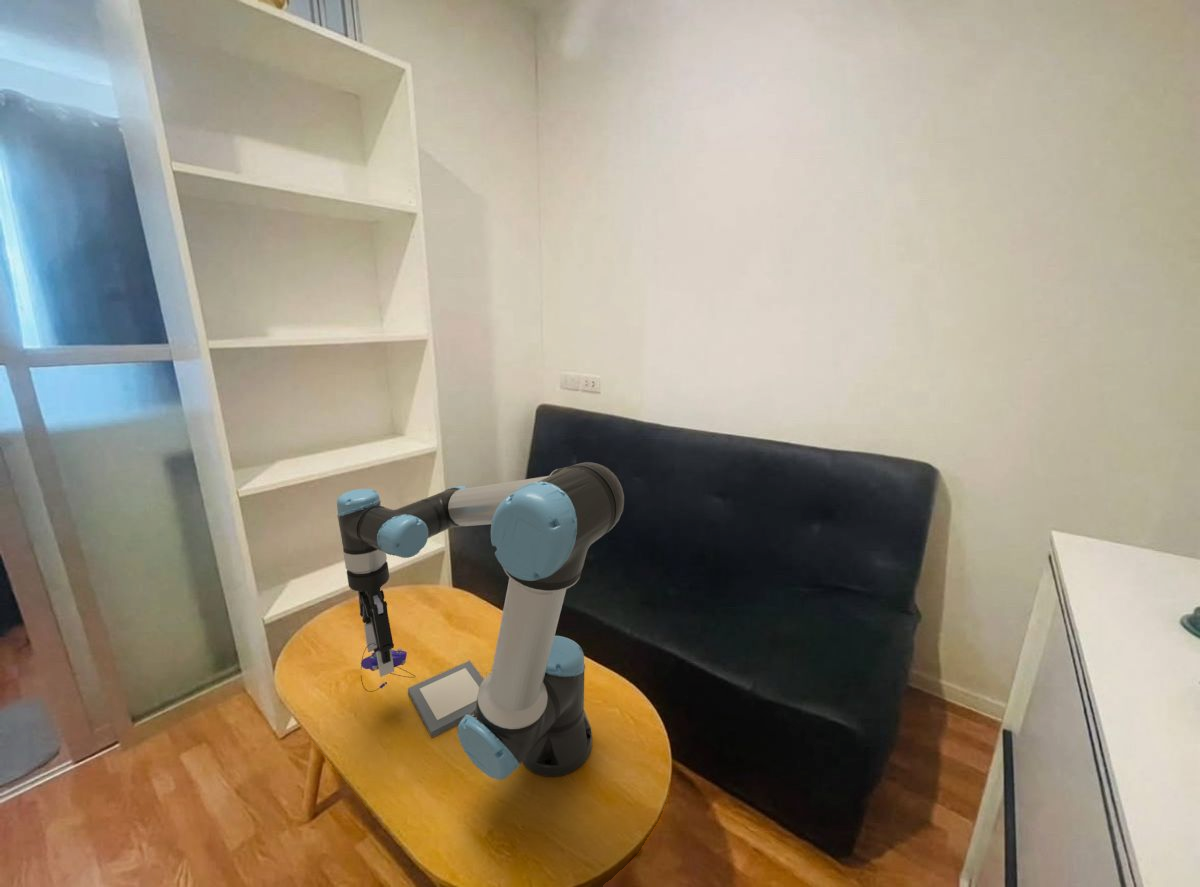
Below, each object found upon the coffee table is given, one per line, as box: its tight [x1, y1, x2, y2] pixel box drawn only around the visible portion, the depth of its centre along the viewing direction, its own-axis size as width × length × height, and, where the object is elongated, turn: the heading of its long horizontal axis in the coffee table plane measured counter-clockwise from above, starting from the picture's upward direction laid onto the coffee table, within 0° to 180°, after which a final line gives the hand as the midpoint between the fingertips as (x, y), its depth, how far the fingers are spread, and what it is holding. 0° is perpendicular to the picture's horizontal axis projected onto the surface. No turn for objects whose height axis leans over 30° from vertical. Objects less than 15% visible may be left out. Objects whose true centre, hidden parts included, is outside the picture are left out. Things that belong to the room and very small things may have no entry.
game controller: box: [360, 643, 415, 693], centre depth 103 cm, size 10×8×10 cm
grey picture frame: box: [407, 660, 485, 739], centre depth 110 cm, size 15×15×2 cm
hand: (380, 660), depth 103 cm, fingers closed on game controller, 9 cm apart
